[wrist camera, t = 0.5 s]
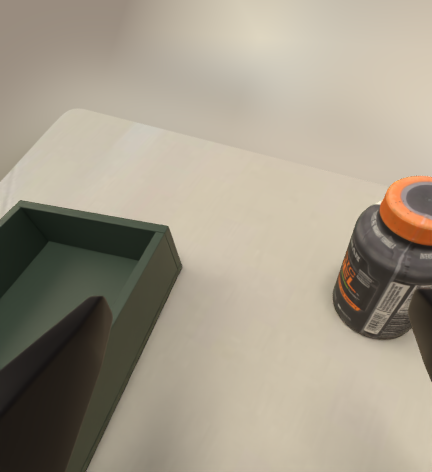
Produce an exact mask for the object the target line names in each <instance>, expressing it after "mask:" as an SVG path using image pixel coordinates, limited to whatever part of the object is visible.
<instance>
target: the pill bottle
mask: <svg viewBox="0 0 432 472" xmlns="http://www.w3.org/2000/svg"><path fill="white" fill-rule="evenodd" d="M418 288H432V177H428V176H411V177H406V178H403V179H400V180H398V181H396V182H394V183H393V184H392V185H391V186H390V187H389V188H388V190H387V192H386V195H385V197H384V199H383V201H380V202H377V203H375V204H373V205H372V206H370V207H368V208H367V209H366V210H365V211H364V212H363V213H362V214H361V215H360V216H359V218H358V220H357V222H356V225H355V228H354V230H353V234H352V236H351V239H350V243H349V246H348V249H347V251H346V254H345V257H344V260H343V263H342V266H341V270H340V272H339V275H338V278H337V281H336V284H335V287H334V291H333V302H334V306H335V309H336V311H337V313H338V314H339V316H340V317H341V318H342V319H343V321H344V322H345V323H346V324H347V325H348V326H350V327H351V328H352V329H354V330H355V331H357V332H358V333H360V334H363V335H365V336H368V337H371V338H376V339H392V338H396V337H399V336H401V335H403V334H405V333H406V332H408V331H409V330H410V329H411V328H412V326H411V323H410V320H409V316H408V307H409V304H410V302H411V299H412V296H413V294H414V291H415V290H416V289H418Z"/></svg>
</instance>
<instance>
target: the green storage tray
mask: <svg viewBox="0 0 432 472" xmlns="http://www.w3.org/2000/svg"><path fill="white" fill-rule="evenodd" d="M181 268H182V264H181V261H180V258H179V256H178V253H177V250H176V247H175V244H174V241H173V238H172V235H171V232H170V229H169V227H168V226H165V225H159V224H153V223H147V222H142V221H136V220H130V219H125V218H119V217H113V216H108V215H102V214H96V213H91V212H85V211H79V210H73V209H68V208H62V207H56V206H51V205H45V204H39V203H34V202H28V201H22V200H20V201H19V202H18V203H17V204H16V205H15V206H14V207H13V208H12V209H11V210H9V211H8V212H7V213H6V214H5V215H4V216H3V217H2V218H1V219H0V370H1V369H2V368H3V367H4V366H5V365H7V364H8V363H9V362H10V361H12V360H13V359H14V358H15V357H16V356H18V355H19V354H20V353H21V352H23V351H24V350H25V349H26V348H27V347H29V346H30V345H31V344H32V343H33V342H35V341H36V340H37V339H38V338H40V337H41V336H42V335H43V334H44V333H46V332H47V331H48V330H49V329H51V328H52V327H53V326H54V325H55V324H57V323H58V322H59V321H60V320H62V319H63V318H64V317H65V316H66V315H68V314H69V313H70V312H71V311H72V310H74V309H75V308H76V307H77V306H79V305H80V304H81V303H82V302H83V301H85V300H86V299H87V298H88V297H90V296H104V297H105V298H106V300H107V302H108V305H109V307H110V309H111V311H112V314H113V320H112V325H111V329H110V334H109V338H108V343H107V347H106V351H105V356H104V360H103V364H102V368H101V371H100V374H99V377H98V380H97V383H96V386H95V388H94V391H93V394H92V397H91V400H90V403H89V406H88V409H87V412H86V415H85V418H84V421H83V423H82V426H81V429H80V432H79V435H78V438H77V441H76V444H75V447H74V450H73V453H72V456H71V458H70V461H69V464H68V467H67V470H66V472H85V471H86V469H87V467H88V464H89V462H90V460H91V458H92V456H93V454H94V452H95V450H96V448H97V445H98V443H99V441H100V439H101V437H102V435H103V433H104V431H105V429H106V426H107V424H108V422H109V420H110V418H111V416H112V414H113V412H114V410H115V407H116V405H117V403H118V401H119V399H120V397H121V395H122V393H123V390H124V388H125V386H126V384H127V382H128V380H129V378H130V376H131V374H132V371H133V369H134V367H135V365H136V363H137V361H138V359H139V357H140V355H141V352H142V350H143V348H144V346H145V344H146V342H147V340H148V338H149V336H150V333H151V331H152V329H153V327H154V325H155V323H156V321H157V319H158V317H159V314H160V312H161V310H162V308H163V306H164V304H165V302H166V300H167V297H168V295H169V293H170V291H171V289H172V287H173V285H174V283H175V281H176V278H177V276H178V274H179V272H180V270H181Z"/></svg>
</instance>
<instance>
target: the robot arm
mask: <svg viewBox="0 0 432 472" xmlns="http://www.w3.org/2000/svg"><path fill="white" fill-rule="evenodd" d="M408 316H409V320H410V323H411V326H412V329H413V332H414V335H415V338H416V341H417V344H418V347H419V350H420V353H421V356H422V359H423V362H424V364H425V367H426V370H427V372H428V374H429V377H430V379H431V381H432V288H418V289H416V290H415V291H414V294H413V296H412V299H411V302H410V304H409V307H408ZM112 320H113V314H112V311H111V309H110V307H109V305H108V302H107V300H106V298H105V297H104V296H90V297H88V298H87V299H86V300H85V301H83V302H82V303H81V304H80V305H79V306H77V307H76V308H75V309H74V310H72V311H71V312H70V313H69V314H68V315H66V316H65V317H64V318H63V319H62V320H60V321H59V322H58V323H57V324H55V325H54V326H53V327H52V328H51V329H49V330H48V331H47V332H46V333H44V334H43V335H42V336H41V337H40V338H38V339H37V340H36V341H35V342H33V343H32V344H31V345H30V346H29V347H27V348H26V349H25V350H24V351H23V352H21V353H20V354H19V355H18V356H16V357H15V358H14V359H13V360H12V361H10V362H9V363H8V364H7V365H5V366H4V367H3V368H2V369H1V370H0V472H66V470H67V467H68V464H69V461H70V458H71V456H72V453H73V450H74V447H75V444H76V441H77V438H78V435H79V432H80V429H81V426H82V423H83V421H84V418H85V415H86V412H87V409H88V406H89V403H90V400H91V397H92V394H93V391H94V388H95V386H96V383H97V380H98V377H99V374H100V371H101V368H102V364H103V360H104V356H105V351H106V347H107V343H108V338H109V334H110V329H111V325H112Z"/></svg>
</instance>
